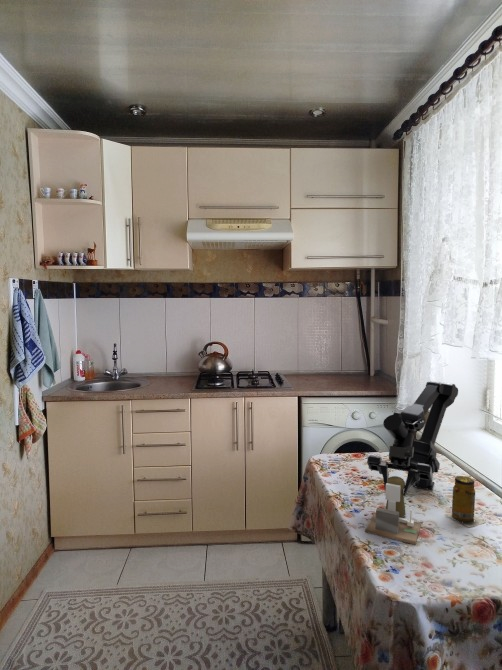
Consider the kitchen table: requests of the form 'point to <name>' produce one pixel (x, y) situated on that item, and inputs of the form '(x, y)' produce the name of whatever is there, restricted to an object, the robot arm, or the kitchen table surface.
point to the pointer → (410, 520)
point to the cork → (400, 505)
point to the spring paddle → (394, 498)
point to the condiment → (464, 502)
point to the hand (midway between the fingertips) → (394, 493)
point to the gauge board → (393, 536)
